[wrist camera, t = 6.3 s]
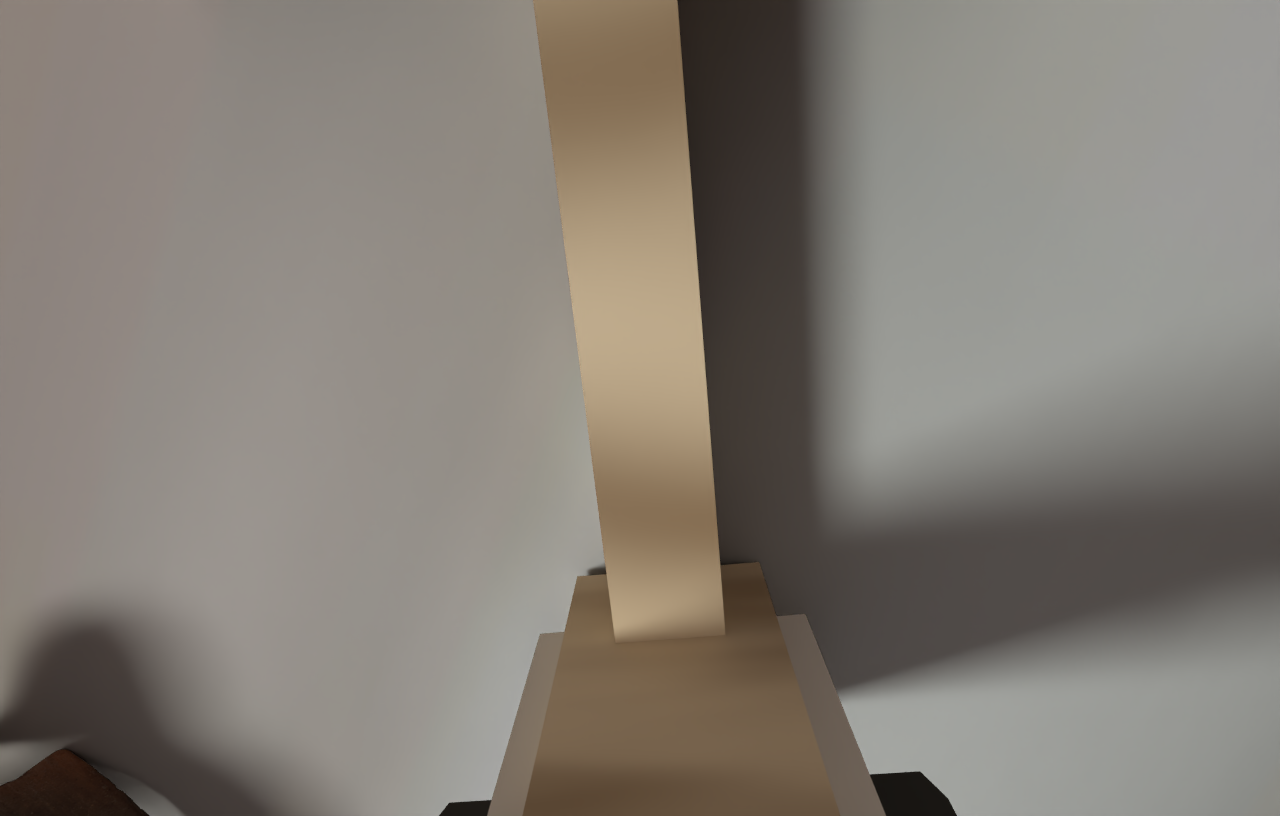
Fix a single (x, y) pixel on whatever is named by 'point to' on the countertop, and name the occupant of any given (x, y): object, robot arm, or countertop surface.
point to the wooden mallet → (653, 469)
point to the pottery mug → (64, 791)
